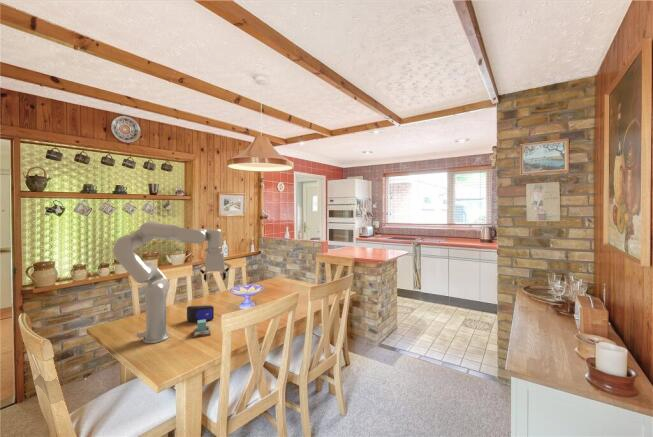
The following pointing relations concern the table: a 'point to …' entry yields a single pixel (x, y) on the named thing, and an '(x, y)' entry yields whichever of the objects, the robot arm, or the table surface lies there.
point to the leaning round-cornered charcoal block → (200, 313)
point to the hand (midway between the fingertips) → (214, 280)
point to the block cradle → (202, 333)
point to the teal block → (201, 325)
